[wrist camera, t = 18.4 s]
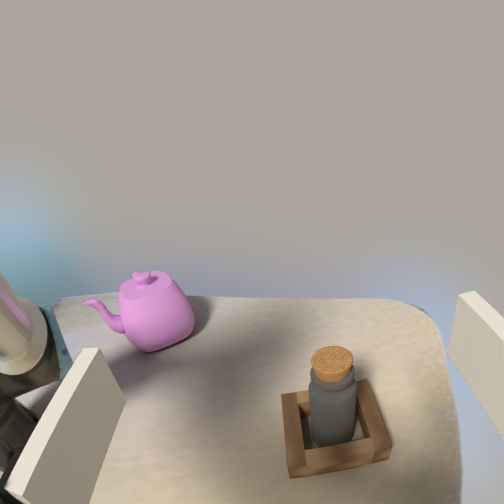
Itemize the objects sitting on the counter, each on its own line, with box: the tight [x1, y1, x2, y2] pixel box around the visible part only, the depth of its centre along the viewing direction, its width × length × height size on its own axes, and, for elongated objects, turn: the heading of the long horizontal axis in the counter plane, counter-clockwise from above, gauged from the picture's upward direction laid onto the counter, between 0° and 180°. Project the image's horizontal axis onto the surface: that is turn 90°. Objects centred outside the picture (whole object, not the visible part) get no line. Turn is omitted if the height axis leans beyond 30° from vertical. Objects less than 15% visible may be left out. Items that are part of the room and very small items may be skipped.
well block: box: [281, 379, 392, 479], centre depth 38 cm, size 13×13×4 cm
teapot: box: [82, 271, 195, 352], centre depth 69 cm, size 23×21×15 cm
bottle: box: [309, 346, 357, 448], centre depth 36 cm, size 6×6×15 cm
